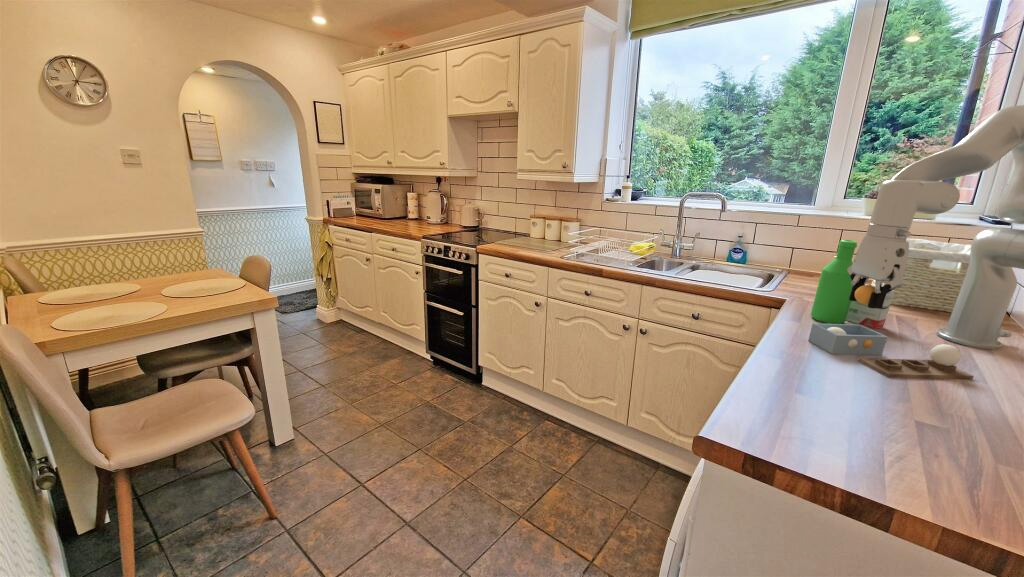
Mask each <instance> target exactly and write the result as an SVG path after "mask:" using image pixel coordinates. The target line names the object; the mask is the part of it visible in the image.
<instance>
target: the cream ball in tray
mask: <svg viewBox="0 0 1024 577" xmlns="http://www.w3.org/2000/svg"><path fill="white" fill-rule="evenodd" d="M827 330H829V331H831V332H833V333H835V334H837V335H847V334H846V332H845V331H844V330H843V329H841V328H838V327H830V328H828V329H827Z"/></svg>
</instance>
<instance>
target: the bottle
mask: <svg viewBox="0 0 1024 577" xmlns="http://www.w3.org/2000/svg"><path fill="white" fill-rule="evenodd" d="M857 247H858V242H857V241H855V240H851V239H850V240H849V239H841V240H840V241H839V242H838V249H837V252H836V254H835V255H836V258H834V259H833V260H831V261H830V262H829V263H828V264H827V265H825V266H824V267H823V268H822V270H821V273H820V277H819V280H818V285H817V289H816V292H815V296H814V300H813V303H812V308H811V311H810V316H811V317H812V318H813V319H814V320H816V321H819V322H821V323H823V324H844V323H845V322H846V321H847V320H846V317H847V314H848V311H849V307H850V304H851V301H850V300H849V297H850V294H851V291H852V287H853V286H854V285H852V284H851V282H852V279H851V277H850V274H849V272H848V271H847V269H848V268H849V267H850V266H851V265H852V264H853V260H852V258H853V259H854V253H855V251H856V250H855V249H856V248H857Z"/></svg>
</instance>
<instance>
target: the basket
mask: <svg viewBox="0 0 1024 577" xmlns="http://www.w3.org/2000/svg"><path fill="white" fill-rule="evenodd" d="M906 241H907V242H909V252H908V258H907V263H906V267H905V271H904V275H903V278H902V281H903V285H902V286H900V287H898V288H895V289H894V291H895V292H894V295H893V298H892V301H891V304H890V305H891V306H892V305H893V306H902V307H910V308H920V309H927V310H928V311H936V310H937V311H939V312H940V311H941V312H946V313H949V312H950V313H951V314H952V311H953V309H954V306H955V303H956V300H957V298H958V295H959V292H960V289H961V287H962V284H963V281H964V279H965V276H966V273H967V269H968V266H969V260H970V249H971V244H967V243H966V244H965V243H964V244H960V243H953V242H942V241H937V240H929V239H923V238H907V239H906ZM891 282H892V281H891ZM870 285H872V286H875V280H874V279H872V281H871V284H870ZM882 286H884V283H882ZM950 313H949V314H950Z"/></svg>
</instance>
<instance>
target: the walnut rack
mask: <svg viewBox="0 0 1024 577" xmlns="http://www.w3.org/2000/svg"><path fill="white" fill-rule="evenodd" d="M858 362H859V363H861V364H863V365H864V366H866V367H868V368H870V369H871V370H873V371H876V372H878V373H879V374H881V375H883V376H885V377H887V378H901V379H903V378H905V379H906V378H909V379H911V378H912V379H951V380H954V379H957V380H973V379H974V375H972V374H970V373H968V372H966V371H963V370H961V369H959V368H957V366H956V365H952V366H942V365H940V364H937V363H935V362H934V361H933V360H932V359H917V358H915V359H914V358H913V359H911V358H910V359H906V358H905V359H903V358H870V357H869V358H868V357H867V358H866V357H865V358H863V357H859V358H858Z"/></svg>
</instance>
